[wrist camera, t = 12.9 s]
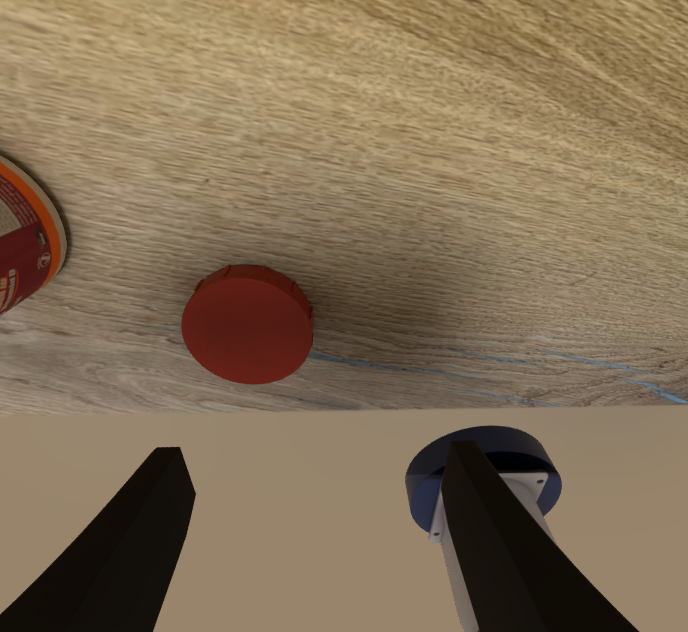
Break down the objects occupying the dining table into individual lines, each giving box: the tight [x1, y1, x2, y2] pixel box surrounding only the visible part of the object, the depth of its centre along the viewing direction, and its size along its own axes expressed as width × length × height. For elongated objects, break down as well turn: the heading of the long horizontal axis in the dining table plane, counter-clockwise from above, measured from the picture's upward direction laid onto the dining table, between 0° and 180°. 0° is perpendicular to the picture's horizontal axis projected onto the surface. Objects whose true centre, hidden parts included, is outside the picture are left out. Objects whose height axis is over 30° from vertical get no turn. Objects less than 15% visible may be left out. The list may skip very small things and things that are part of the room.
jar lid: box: [182, 265, 313, 384], centre depth 18 cm, size 6×6×1 cm
